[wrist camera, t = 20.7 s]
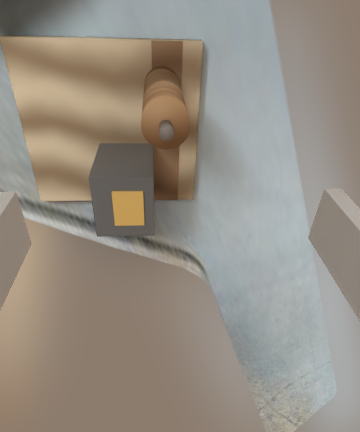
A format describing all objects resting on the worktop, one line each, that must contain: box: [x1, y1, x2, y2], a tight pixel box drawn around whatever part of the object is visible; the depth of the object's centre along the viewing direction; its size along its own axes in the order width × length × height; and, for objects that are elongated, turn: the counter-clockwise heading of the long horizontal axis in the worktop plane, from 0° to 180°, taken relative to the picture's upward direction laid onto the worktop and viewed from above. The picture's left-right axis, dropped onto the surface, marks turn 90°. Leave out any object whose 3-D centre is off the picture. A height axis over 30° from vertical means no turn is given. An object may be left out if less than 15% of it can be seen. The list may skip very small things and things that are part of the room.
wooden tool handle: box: [141, 66, 191, 150], centre depth 28 cm, size 4×4×14 cm
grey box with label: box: [88, 143, 154, 236], centre depth 36 cm, size 7×6×8 cm
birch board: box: [0, 35, 203, 201], centre depth 36 cm, size 18×19×1 cm
